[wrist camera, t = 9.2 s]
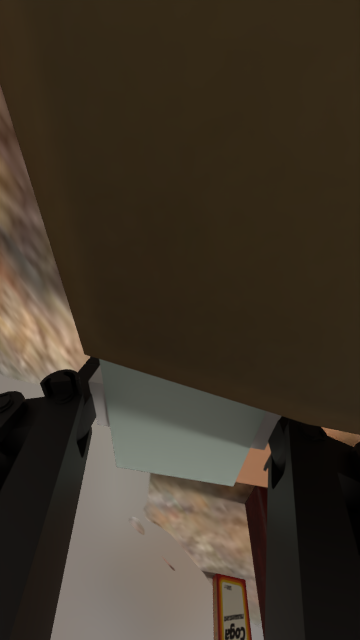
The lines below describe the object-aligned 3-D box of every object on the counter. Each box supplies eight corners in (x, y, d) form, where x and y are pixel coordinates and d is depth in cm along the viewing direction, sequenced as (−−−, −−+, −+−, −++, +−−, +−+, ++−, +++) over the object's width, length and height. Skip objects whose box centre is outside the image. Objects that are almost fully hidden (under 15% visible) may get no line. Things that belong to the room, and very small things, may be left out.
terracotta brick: (228, 375, 23) (237, 431, 17) (278, 382, 23) (305, 441, 17) (216, 421, 28) (220, 479, 22) (258, 428, 27) (274, 488, 21)
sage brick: (149, 263, 12) (91, 310, 6) (248, 272, 11) (299, 335, 5) (149, 372, 16) (116, 467, 10) (221, 381, 16) (233, 486, 10)
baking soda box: (245, 579, 63) (256, 684, 49) (240, 584, 66) (249, 683, 52) (216, 573, 63) (219, 674, 49) (212, 578, 66) (214, 674, 52)
